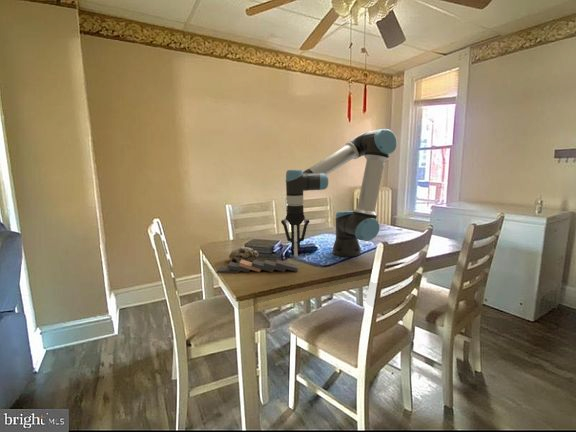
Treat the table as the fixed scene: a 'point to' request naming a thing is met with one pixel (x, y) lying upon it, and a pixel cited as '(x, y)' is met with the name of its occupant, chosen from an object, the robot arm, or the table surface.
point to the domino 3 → (248, 265)
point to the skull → (243, 254)
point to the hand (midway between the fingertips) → (295, 255)
